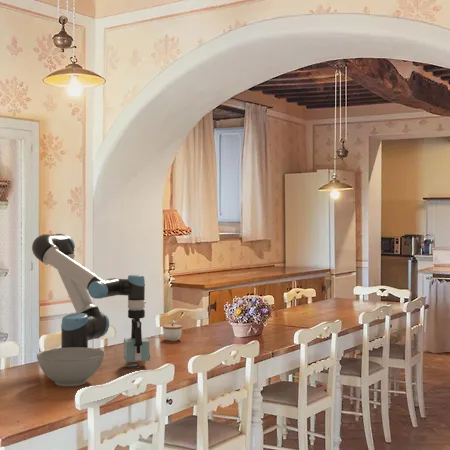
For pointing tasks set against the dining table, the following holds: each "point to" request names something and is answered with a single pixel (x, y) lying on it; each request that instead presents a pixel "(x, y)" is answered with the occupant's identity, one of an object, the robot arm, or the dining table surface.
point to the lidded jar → (172, 331)
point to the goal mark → (135, 366)
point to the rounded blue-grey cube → (130, 350)
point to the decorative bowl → (70, 364)
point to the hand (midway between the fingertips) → (136, 357)
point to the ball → (140, 363)
